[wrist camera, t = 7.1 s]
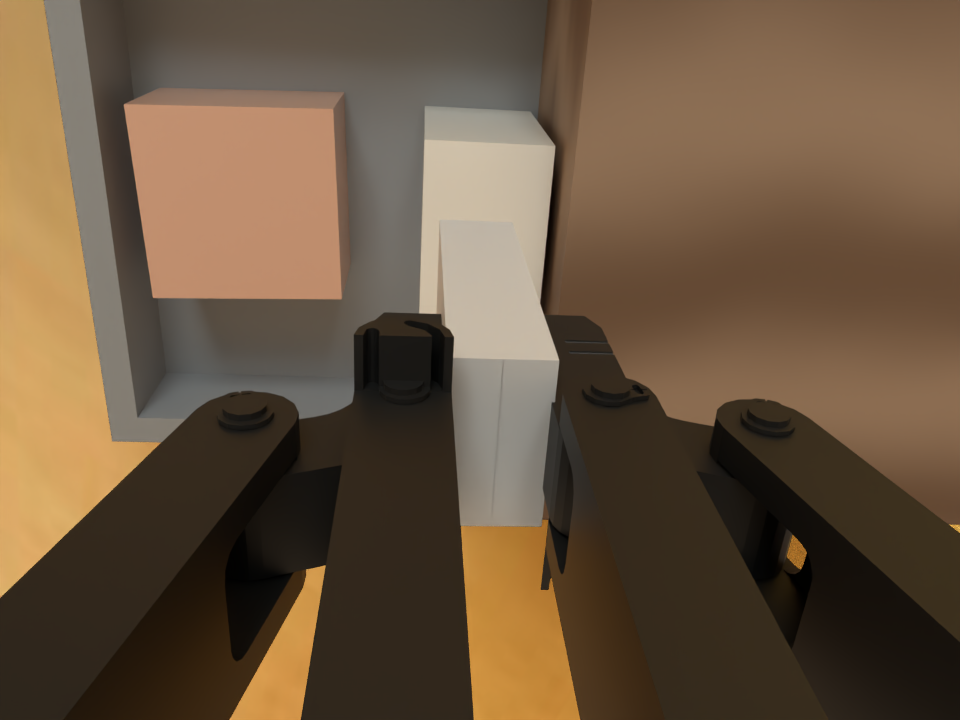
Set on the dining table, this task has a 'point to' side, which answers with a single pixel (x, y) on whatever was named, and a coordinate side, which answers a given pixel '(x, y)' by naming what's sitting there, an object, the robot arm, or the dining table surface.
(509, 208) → the cream square block
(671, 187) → the brown wooden block
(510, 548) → the dining table surface
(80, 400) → the dining table surface
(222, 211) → the terracotta tile
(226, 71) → the grey box
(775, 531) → the robot arm
